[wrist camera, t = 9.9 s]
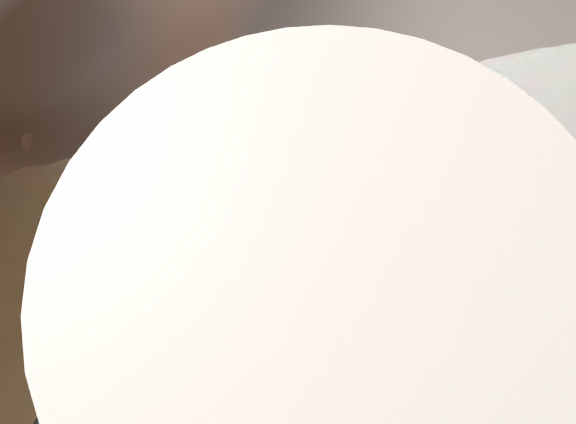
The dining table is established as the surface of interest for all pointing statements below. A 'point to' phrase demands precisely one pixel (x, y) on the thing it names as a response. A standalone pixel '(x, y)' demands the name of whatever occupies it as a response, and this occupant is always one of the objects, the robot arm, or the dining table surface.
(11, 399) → the dining table surface
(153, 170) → the cylindrical container
